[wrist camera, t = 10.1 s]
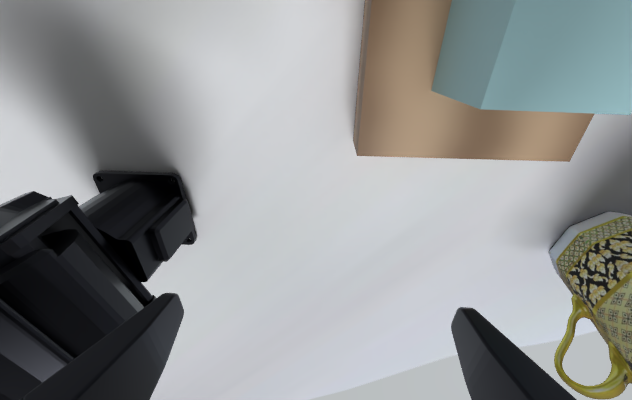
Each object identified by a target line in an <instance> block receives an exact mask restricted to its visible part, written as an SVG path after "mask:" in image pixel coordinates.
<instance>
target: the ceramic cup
mask: <svg viewBox="0 0 632 400" xmlns="http://www.w3.org/2000/svg"><path fill="white" fill-rule="evenodd" d="M549 254H550V257H551V260H552V263H553V266H554V268H555V270H556V272H557V274H558V275H559V276H560V278H561V279H562V280H563V282H564V283H565V285H566V286H567V287H568V289H569V290H570V291H571V293H572V295H573V297H572V305H573V311H572V313H571V315H570V317H569V319H568V324H567V330H566V333H565V335H564V338H563V339H562V341H561V343H560V345H559V346H558V348H557V350H556V353H555V359H554V362H555V367H556V371H557V373H558V374H559V376H560V377H561V379H562V380H563V381H564V382H565V383H566V384H568V385H569V386H570V387H571V388H572V389H574V390H575V391H577V392H578V393H580V394H582V395H584V396H586V397H590V398H594V399H611V398H614V397H617V396H619V395H620V394H621V393H622V392H623V391H624V390H625V388H626V387H627V385H628V384H629V383H632V215H628V214H622V213H617V212H605V213H603V214H600V215H598V216H595V217H593V218H590V219H588V220H585V221H583V222H580V223H577V224H575V225H572V226H570V227H569V228H568V229H567V230H566V231H565V233H564V234H563V235H562V236H561V238H560V239H559V240H558V241H557V242H556V244H555V245H554V246H553V247H552V249H551V250H550V251H549ZM582 317H585V318H588V319H590V320H591V321H592V322H593V324H594V325H595V327H596V328H597V330H598V331H599V333H600V335H601V336H602V337H603V339H604V340H605V341H606V343H607V344H608V347H609V355H610V360H611V364H612V368H611V372H610V375H609V376H608V378H607V379H606V381H604V382H603V383H601V384H599V385H595V386H584V385H581V384H578V383H576V382H574V381H572V380H571V379H570V378H569V377H568V376H567V375H566V374H565V372H564V370H563V368H562V361H563V357H564V355H565V353H566V351H567V350H568V348H569V346H570V344H571V342H572V340H573V337H574V333H575V326H576V323H577V321H578V320H579V319H580V318H582Z"/></svg>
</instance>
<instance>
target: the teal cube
mask: <svg viewBox="0 0 632 400" xmlns="http://www.w3.org/2000/svg"><path fill="white" fill-rule="evenodd" d="M431 91H433V92H436V93H438V94H441V95H443V96H446V97H449V98H451V99H454V100H457V101H459V102H462V103H465V104H467V105H470V106H473V107H475V108H478V109H484V110H511V111H538V112H565V113H592V114H619V115H630V114H631V113H632V0H452V2H451V7H450V11H449V15H448V20H447V24H446V28H445V33H444V37H443V42H442V46H441V50H440V55H439V59H438V63H437V68H436V72H435V77H434V81H433V85H432V90H431Z"/></svg>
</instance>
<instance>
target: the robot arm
mask: <svg viewBox="0 0 632 400" xmlns="http://www.w3.org/2000/svg"><path fill="white" fill-rule="evenodd" d="M101 177H102V178H103V179H102V178H101ZM171 178H172V179H173V180H174V181H175V182H173V181H172V180H171ZM93 179H94V181H95V183H96V186H97V188H98V190H99V192H100V194H99V195H97V196H95V197H94V198H92V199H90V200H89V201H87V202H85V203H84V204H82V205H81V206H79V207H78V204H79V203H78V202H77V201H76V200H75V198H74V197H73V196H72V195H70V196H67V197H63V198H59V199H52V198H51V197H46V196H44V195H42V194H39V193H37V192H34V191H33V192H29V193H25V194H23V195H21V196H19V197H17V198H14V199H12V200H10V201H8V202H6V203H4V204H1V205H0V400H150V397H151V395H152V393H153V391H154V389H155V387H156V385H157V383H158V380H159V378H160V376H161V374H162V372H163V370H164V367H165V365H166V362H167V360H168V357H169V355H170V352H171V349H172V346H173V344H174V341H175V338H176V335H177V332H178V330H179V327H180V324H181V321H182V319H183V315H184V309H183V306H182V304H181V301H180V298H179V296H178V295H177V294H175V293H164V294H162V295H161V296H159V297H158V298H156V297H155V296H154V295H151V294H150V293H149V291H148V290H147V289H146V288H145V286H144V285H143V284H142V283H141V282H147V281H148V279H149V278H150V277H151V276H152V274H153V273H154V272H155V271H156V269H157V268H158V267H159V266H160V264H161V263H162V262H163V261H166V262H167V261H168V260H169V259H170V258H171V257H172V256H173V254H174V253H175V252H176V250H177V249H178V248H179V247H180V245H181V244H185V245H191V244H194V242H195V241H196V234H195V230H194V227H195V226H194V222H193V218H192V215H191V211H190V207H189V203H188V201H187V200H186V197H185V193H184V189H183V186H182V182H181V179H180V177H179V176H178V175H177V174H175V173H154V172H121V171H99V172H97V173H95V174H94V175H93ZM189 238H190V239H189ZM451 329H452V334H453V338H454V341H455V345H456V349H457V353H458V356H459V360H460V364H461V368H462V371H463V375H464V379H465V382H466V385H467V388H468V391H469V394H470V396H471V399H472V400H576V399H575V398H574V397H573V396H572V395H571V394H570V393H568V392H567V391H566V390H565V389H564V388H563V387H562V386H560V385H559V384H558V383H557V382H556V381H555V380H554V379H553V378H551V377H550V376H549V375H548V374H547V373H546V372H545V371H544V370H543V369H541V368H540V367H539V366H538V365H537V364H536V363H535V362H533V361H532V360H531V359H530V358H529V357H528V356H527V355H525V353H523V352H522V351H521V350H520V349H519V348H518V347H517V346H516V345H514V344H513V343H512V342H511V341H510V340H509V339H508V338H507V337H505V336H504V335H503V334H502V333H501V332H500V331H499V330H498V329H496V328H495V327H494V326H493V325H492V324H491V323H490V322H489V321H487V320H486V319H485V318H484V317H483V316H482V315H481V314H480V313H478V312H477V311H476V310H475V309H473V308H466V307H460V308H458V310H457V312H456V314H455V316H454V319H453V321H452V324H451Z"/></svg>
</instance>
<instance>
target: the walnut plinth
mask: <svg viewBox="0 0 632 400" xmlns="http://www.w3.org/2000/svg"><path fill="white" fill-rule="evenodd" d="M451 2H452V0H365V6H364V18H363V30H362V42H361V54H360V65H359V77H358V89H357V101H356V113H355V125H354V137H353V142H354V146H355V149H356V153H357V156H384V157H421V158H458V159H494V160H531V161H568V162H569V161H570V159H571V158H572V156H573V154H574V152H575V150H576V148H577V146H578V144H579V142H580V140H581V138H582V137H583V135H584V133H585V131H586V129H587V127H588V125H589V123H590V121H591V119H592V117H593V115H594V114H592V113H565V112H538V111H511V110H484V109H478V108H475V107H473V106H470V105H467V104H465V103H462V102H459V101H457V100H454V99H451V98H449V97H446V96H443V95H441V94H438V93H436V92H433V91H431V90H432V85H433V81H434V77H435V72H436V68H437V63H438V59H439V55H440V50H441V46H442V42H443V37H444V33H445V28H446V24H447V20H448V15H449V11H450V7H451Z"/></svg>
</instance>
